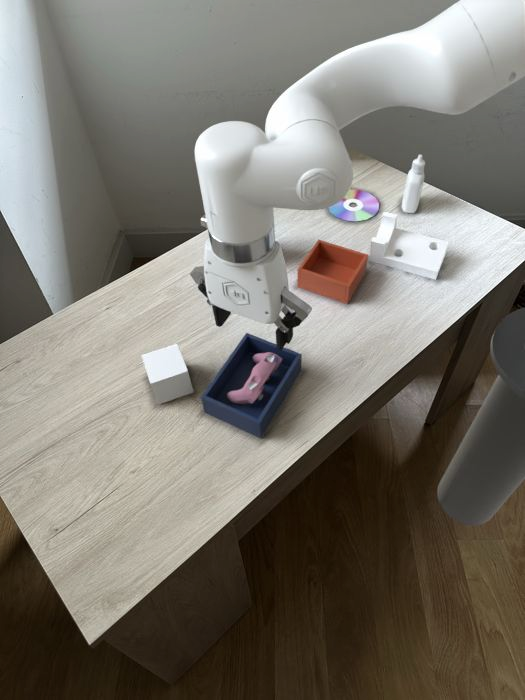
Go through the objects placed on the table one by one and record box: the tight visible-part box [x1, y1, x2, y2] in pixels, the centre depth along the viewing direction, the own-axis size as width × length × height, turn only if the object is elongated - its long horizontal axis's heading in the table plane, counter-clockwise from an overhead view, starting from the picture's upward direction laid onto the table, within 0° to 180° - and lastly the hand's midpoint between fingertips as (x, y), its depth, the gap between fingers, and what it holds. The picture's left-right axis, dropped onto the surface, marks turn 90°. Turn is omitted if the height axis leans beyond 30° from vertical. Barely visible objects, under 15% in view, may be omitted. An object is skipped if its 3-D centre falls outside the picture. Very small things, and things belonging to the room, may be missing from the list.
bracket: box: [369, 211, 450, 281], centre depth 99 cm, size 13×7×8 cm, turn 64°
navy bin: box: [200, 332, 303, 439], centre depth 83 cm, size 10×14×5 cm
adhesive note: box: [140, 343, 194, 406], centre depth 84 cm, size 6×6×6 cm
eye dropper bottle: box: [401, 154, 426, 214], centre depth 107 cm, size 4×6×12 cm
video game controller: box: [227, 352, 282, 404], centre depth 82 cm, size 10×5×7 cm, turn 151°
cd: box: [327, 188, 380, 222], centre depth 113 cm, size 11×11×1 cm
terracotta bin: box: [296, 239, 369, 305], centre depth 97 cm, size 10×9×5 cm
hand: (253, 330), depth 73 cm, fingers open, 9 cm apart
